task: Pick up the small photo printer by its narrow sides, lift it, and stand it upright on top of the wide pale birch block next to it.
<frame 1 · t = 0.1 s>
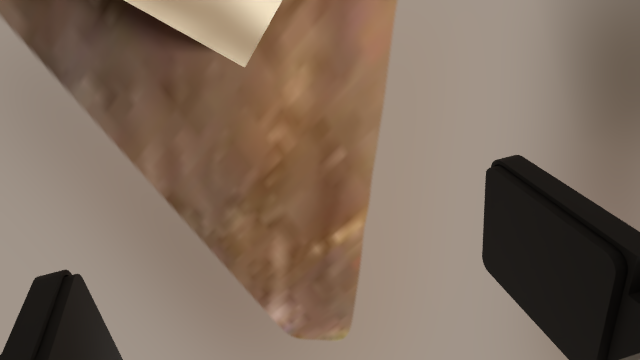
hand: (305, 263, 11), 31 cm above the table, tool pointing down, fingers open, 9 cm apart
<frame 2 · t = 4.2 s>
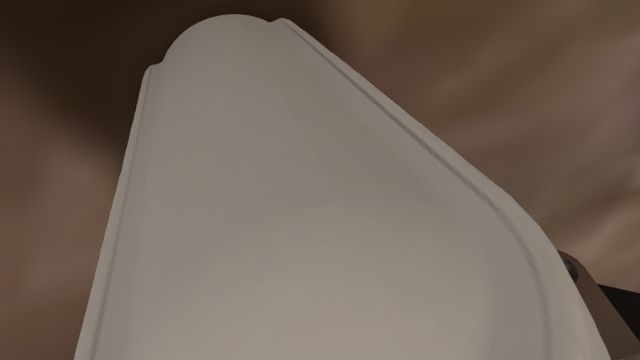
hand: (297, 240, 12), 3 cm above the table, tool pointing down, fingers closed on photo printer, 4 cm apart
photo printer: (275, 185, 14), on the table, touching gripper
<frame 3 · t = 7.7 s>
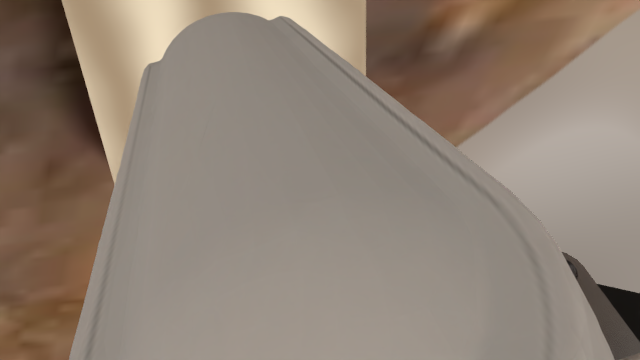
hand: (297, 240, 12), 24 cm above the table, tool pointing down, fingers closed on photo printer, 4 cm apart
birch block: (228, 61, 33), on the table
photo printer: (275, 183, 14), point 21 cm above the table, touching gripper
when the fingers open (10 cm above the table, at t = 11.2 s): photo printer drops 1 cm, point 5 cm above the table.
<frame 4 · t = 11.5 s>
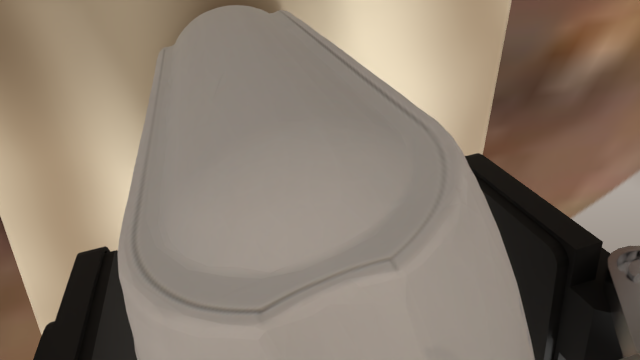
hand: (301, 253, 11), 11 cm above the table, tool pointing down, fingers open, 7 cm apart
birch block: (246, 108, 21), on the table
photo printer: (271, 163, 16), point 5 cm above the table
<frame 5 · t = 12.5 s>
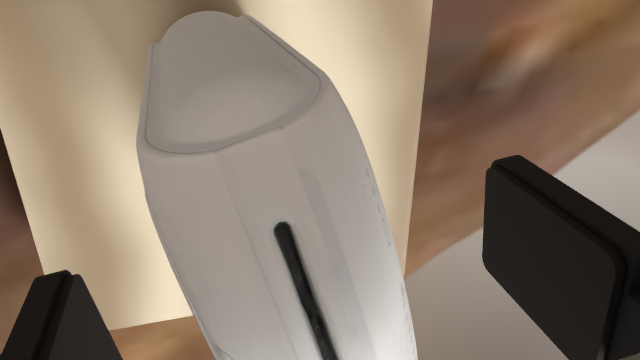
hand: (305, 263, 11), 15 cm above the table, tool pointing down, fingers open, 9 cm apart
birch block: (223, 106, 24), on the table, touching photo printer
photo printer: (240, 140, 19), point 5 cm above the table, touching birch block
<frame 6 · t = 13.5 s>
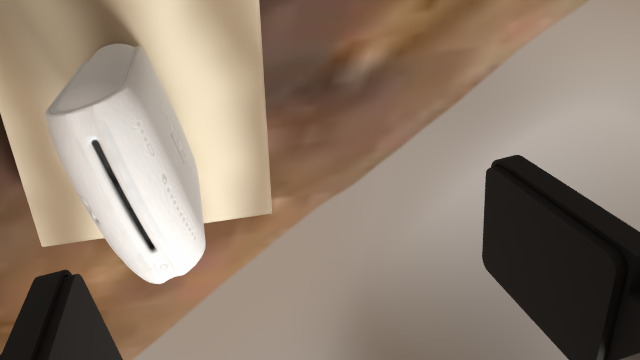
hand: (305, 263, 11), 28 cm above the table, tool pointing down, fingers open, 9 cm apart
birch block: (148, 100, 36), on the table
photo printer: (146, 120, 31), point 5 cm above the table
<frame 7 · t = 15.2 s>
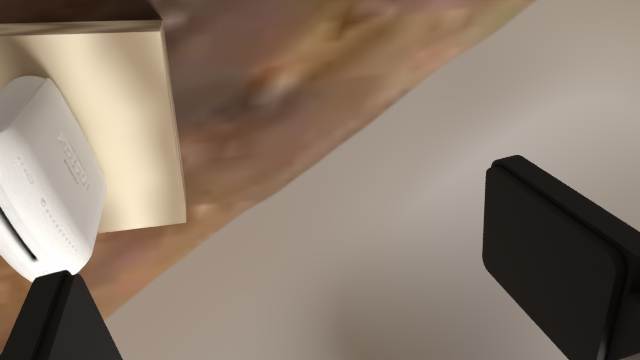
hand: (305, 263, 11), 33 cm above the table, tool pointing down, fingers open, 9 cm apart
birch block: (78, 118, 40), on the table, touching photo printer
photo printer: (59, 140, 35), point 5 cm above the table, touching birch block
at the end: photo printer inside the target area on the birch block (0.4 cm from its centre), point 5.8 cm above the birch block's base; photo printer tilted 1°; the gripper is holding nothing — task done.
